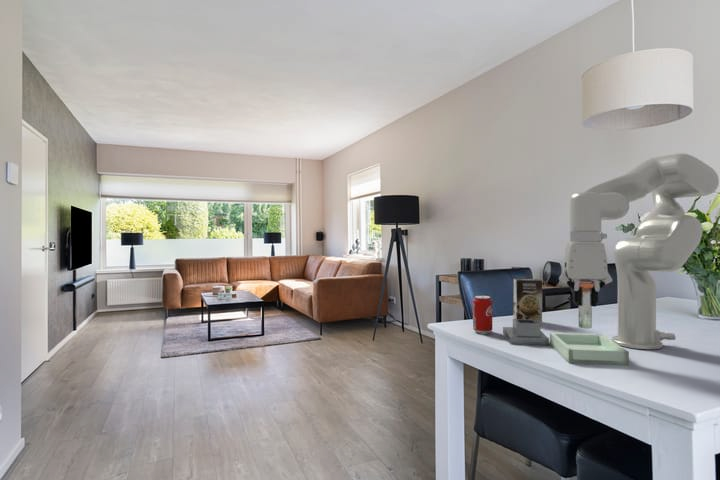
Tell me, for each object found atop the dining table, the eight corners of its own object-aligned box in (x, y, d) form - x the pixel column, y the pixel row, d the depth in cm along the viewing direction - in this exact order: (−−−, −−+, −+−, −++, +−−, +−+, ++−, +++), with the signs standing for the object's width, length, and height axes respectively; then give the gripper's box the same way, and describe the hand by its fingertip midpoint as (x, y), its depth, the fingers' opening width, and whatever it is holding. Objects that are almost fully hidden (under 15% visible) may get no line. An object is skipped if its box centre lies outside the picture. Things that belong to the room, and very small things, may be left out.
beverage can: (493, 334, 139) (493, 298, 139) (473, 333, 140) (473, 297, 140) (491, 330, 145) (491, 295, 145) (472, 329, 146) (472, 295, 146)
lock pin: (590, 325, 117) (591, 282, 117) (596, 329, 112) (597, 283, 112) (573, 325, 117) (574, 281, 117) (579, 328, 113) (579, 283, 113)
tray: (601, 346, 123) (601, 334, 123) (628, 365, 105) (628, 351, 105) (550, 344, 125) (550, 333, 125) (568, 363, 108) (568, 349, 108)
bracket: (537, 334, 139) (537, 315, 139) (548, 345, 125) (548, 324, 125) (503, 332, 141) (502, 315, 141) (510, 343, 127) (509, 323, 127)
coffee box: (516, 324, 154) (516, 280, 154) (513, 320, 161) (512, 278, 161) (542, 324, 153) (542, 280, 153) (538, 321, 159) (538, 278, 159)
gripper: (612, 238, 117) (612, 304, 117) (549, 238, 120) (549, 302, 120) (624, 238, 110) (624, 308, 110) (557, 238, 113) (556, 306, 113)
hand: (585, 304), depth 115 cm, fingers closed on lock pin, 3 cm apart
